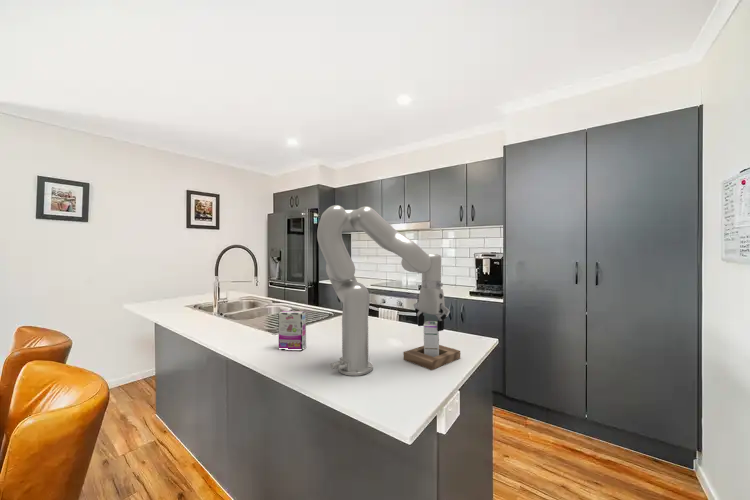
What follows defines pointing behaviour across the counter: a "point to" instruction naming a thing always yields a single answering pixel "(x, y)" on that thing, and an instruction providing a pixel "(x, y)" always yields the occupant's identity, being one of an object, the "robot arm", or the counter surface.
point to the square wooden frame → (431, 362)
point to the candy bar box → (292, 329)
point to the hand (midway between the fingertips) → (430, 328)
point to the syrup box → (431, 338)
